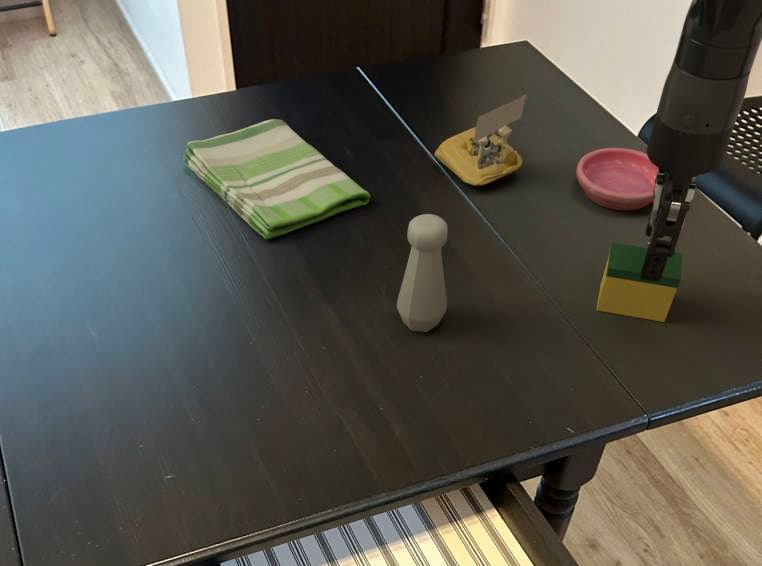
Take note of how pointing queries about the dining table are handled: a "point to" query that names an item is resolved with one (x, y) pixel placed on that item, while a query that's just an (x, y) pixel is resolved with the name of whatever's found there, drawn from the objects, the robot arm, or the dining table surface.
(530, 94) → the dining table surface
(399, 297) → the salt shaker
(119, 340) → the dining table surface
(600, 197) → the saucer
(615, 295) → the sponge
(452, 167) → the yellow base with figure
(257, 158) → the dish towel
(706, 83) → the robot arm
